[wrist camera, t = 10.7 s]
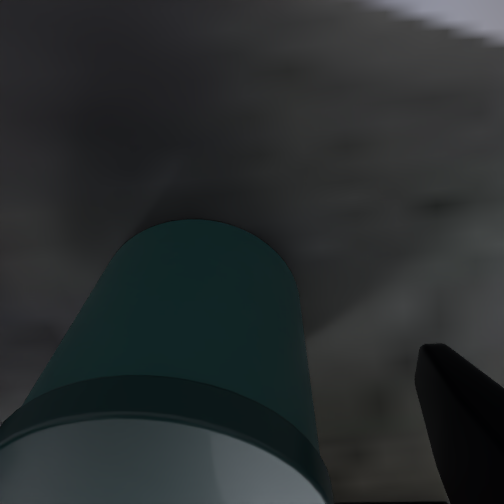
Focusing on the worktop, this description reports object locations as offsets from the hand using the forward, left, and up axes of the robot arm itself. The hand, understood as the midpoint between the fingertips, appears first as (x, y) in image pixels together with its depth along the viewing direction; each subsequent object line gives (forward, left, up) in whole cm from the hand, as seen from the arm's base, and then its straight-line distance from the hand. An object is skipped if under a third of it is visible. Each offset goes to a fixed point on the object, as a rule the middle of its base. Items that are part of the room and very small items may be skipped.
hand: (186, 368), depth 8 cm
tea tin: (0, 0, -2) cm, 2 cm away
